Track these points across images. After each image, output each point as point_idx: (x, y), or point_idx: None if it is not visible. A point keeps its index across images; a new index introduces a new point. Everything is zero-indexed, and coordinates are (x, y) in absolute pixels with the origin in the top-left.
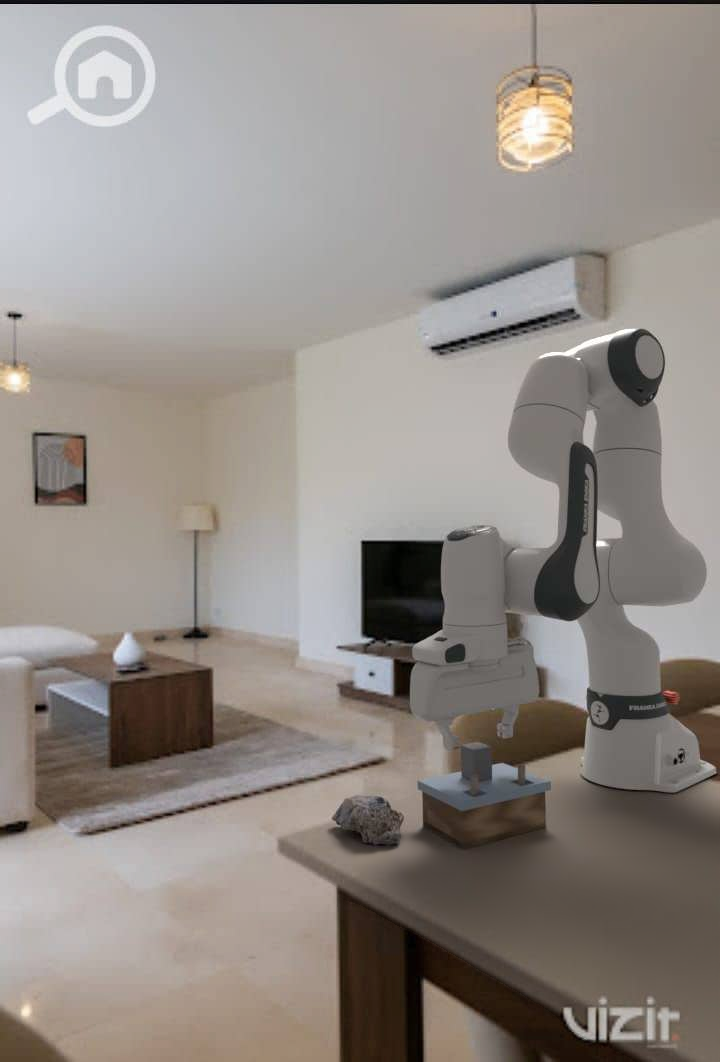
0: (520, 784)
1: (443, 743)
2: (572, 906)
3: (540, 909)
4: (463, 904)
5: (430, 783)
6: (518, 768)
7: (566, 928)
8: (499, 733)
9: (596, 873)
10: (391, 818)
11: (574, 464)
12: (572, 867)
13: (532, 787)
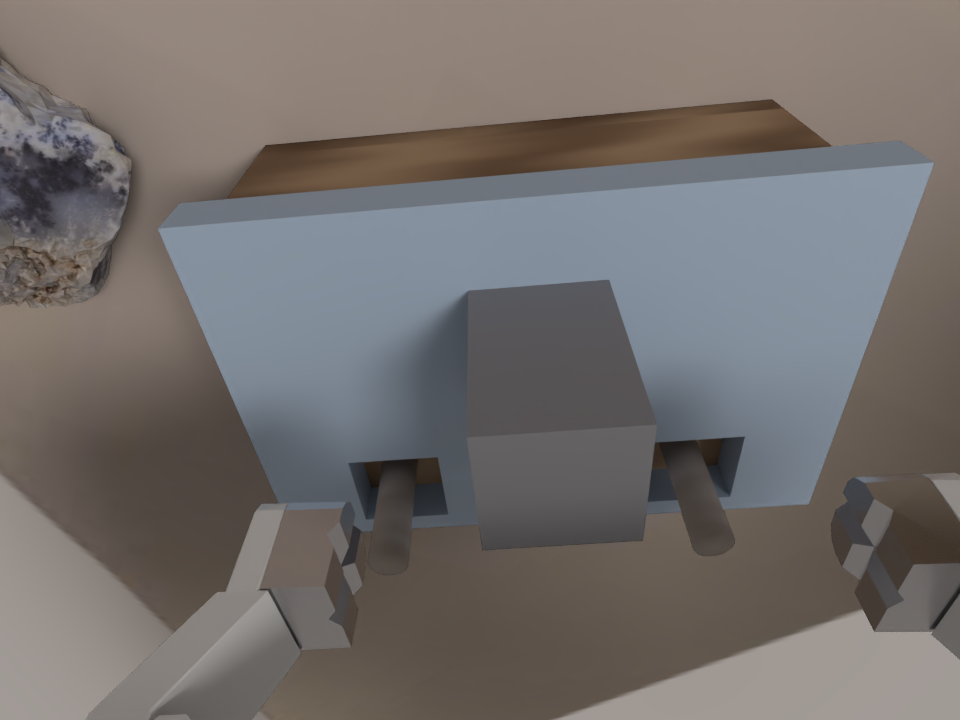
0: (669, 475)
1: (251, 528)
2: (429, 633)
3: (364, 624)
4: (217, 576)
5: (229, 310)
6: (690, 530)
7: (370, 663)
8: (861, 510)
9: (580, 580)
10: (30, 284)
11: None
12: (555, 550)
13: None
